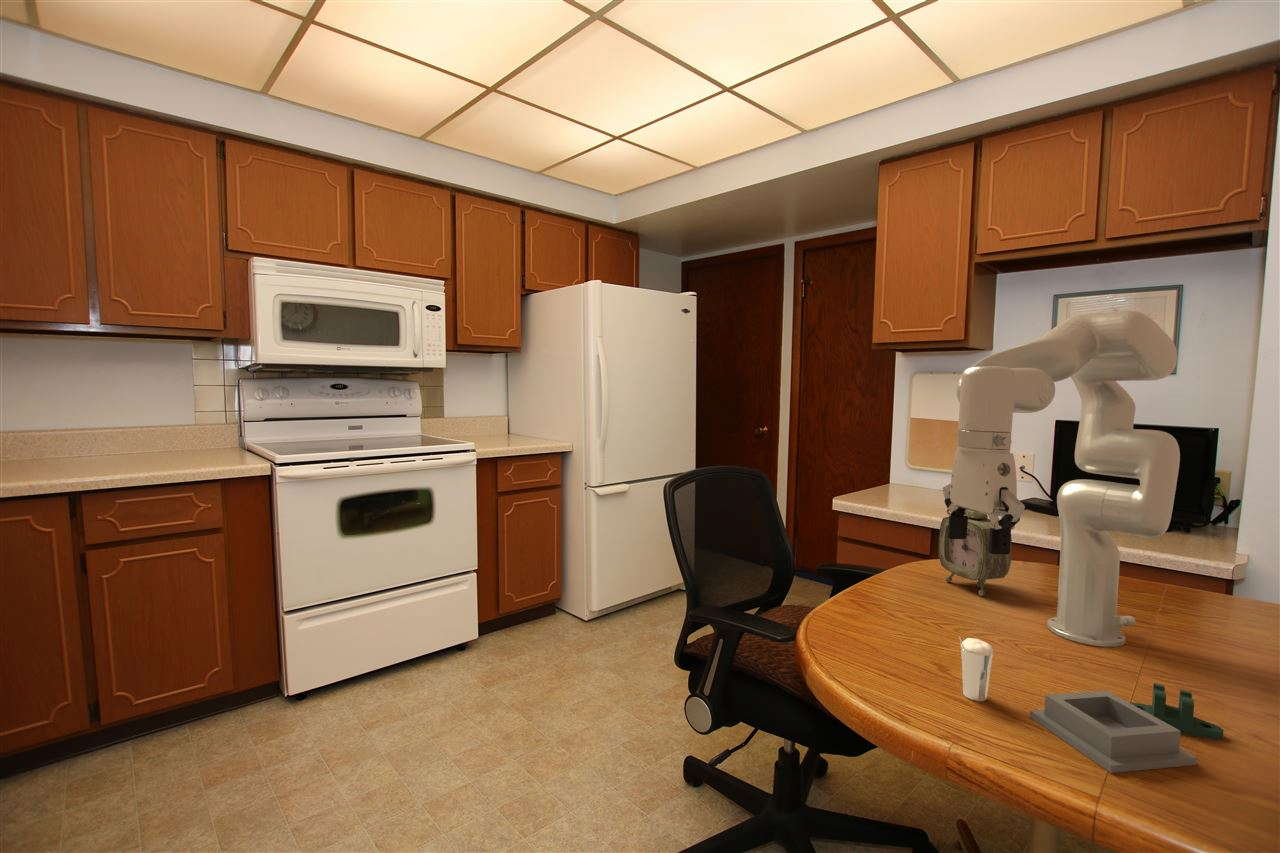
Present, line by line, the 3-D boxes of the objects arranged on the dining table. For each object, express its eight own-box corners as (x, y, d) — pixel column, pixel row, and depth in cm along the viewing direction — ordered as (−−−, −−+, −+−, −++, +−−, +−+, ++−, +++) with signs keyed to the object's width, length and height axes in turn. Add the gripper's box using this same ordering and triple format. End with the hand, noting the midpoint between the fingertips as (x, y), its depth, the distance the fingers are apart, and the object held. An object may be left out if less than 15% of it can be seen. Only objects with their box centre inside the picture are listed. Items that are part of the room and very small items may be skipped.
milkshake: (947, 689, 95) (950, 630, 95) (978, 688, 96) (981, 629, 95) (965, 704, 91) (968, 642, 90) (997, 703, 91) (1000, 641, 91)
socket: (1104, 710, 89) (1106, 685, 89) (1196, 764, 76) (1198, 735, 76) (1029, 716, 87) (1031, 691, 87) (1110, 773, 75) (1112, 743, 74)
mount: (1220, 731, 84) (1222, 698, 84) (1225, 745, 81) (1227, 711, 80) (1123, 705, 91) (1124, 674, 91) (1123, 717, 88) (1125, 685, 87)
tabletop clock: (937, 580, 151) (941, 485, 149) (966, 578, 153) (970, 484, 151) (982, 600, 137) (987, 495, 135) (1013, 597, 139) (1018, 494, 137)
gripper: (1047, 447, 86) (1040, 560, 87) (968, 439, 103) (962, 533, 104) (1002, 446, 85) (994, 560, 86) (929, 438, 102) (923, 533, 103)
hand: (976, 545), depth 95 cm, fingers open, 9 cm apart
